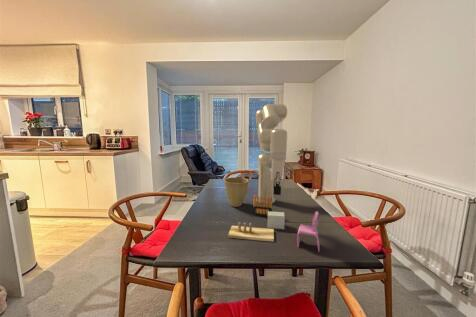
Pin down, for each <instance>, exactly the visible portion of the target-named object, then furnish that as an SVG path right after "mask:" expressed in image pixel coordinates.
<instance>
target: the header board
mask: <svg viewBox="0 0 476 317" xmlns="http://www.w3.org/2000/svg"><path fill="white" fill-rule="evenodd" d="M237 223H238V224H237V225H231V227H230V229H229V232H228V235H227V238H230V239H241V240H251V241H260V242H261V241H263V242H275V233H274V232H275V228H264V227H255V226H254V227H253V223H252V222H249V224H248V225H249V226H247V222H243V226H242V222H241V221H239V222H237Z"/></svg>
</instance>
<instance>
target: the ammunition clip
mask: <svg viewBox="0 0 476 317" xmlns="http://www.w3.org/2000/svg"><path fill="white" fill-rule="evenodd" d="M256 198H257V201H256ZM252 206H253V207H252V215H253V216H258V217H259V216H260V217H261V216H262V217H268V211H270V212H273V203H272V196H270V202H269V196H268V195H267V200H265V195H264V197H263V202H262V194H261V196H260V203H259V194H258V193H257V195H256V194H253V205H252Z"/></svg>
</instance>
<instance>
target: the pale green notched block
mask: <svg viewBox="0 0 476 317" xmlns="http://www.w3.org/2000/svg"><path fill="white" fill-rule="evenodd" d="M285 218H286V217H285V211H284V212H282V211H272V212H270V211H268V216H267V223H266V224H267V225H266V226H267V229H274V230H275V229H278V230H285V220H286V219H285Z"/></svg>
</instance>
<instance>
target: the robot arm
mask: <svg viewBox="0 0 476 317" xmlns="http://www.w3.org/2000/svg"><path fill="white" fill-rule="evenodd" d="M287 116H288V108H287V106H286V105H285V104H284V103H267V104H266V105H265V104H264V106H263V107H262V109H259V110H257V111H256V113H255V122H256V126H257V137H258V142H259V149H260V151H262V152H265V153H261V154H259V155H258V157H257V164H258V165H257V166H258V191H257V192H258V193H257V195H258V194H259V204H260V196H261V194H262V202H263V197H264V195H265V200H267V195H268V196H269V202H270V196H272V204H274V203H276V198H274V195H277V196H281V195H282V193H281V192H282V189H281V188H282V185H281V182H282V181H283V176H284V175H283V174H284V167H285V166H286V160H287V148H288V147H287V146H288V144H287V143H288V131H287V130H286V129H285V128H284V129H282V128H277V127H278V126H279V125H280V123H282V122H283V121H284V120H285V119H287ZM266 152H267V153H266ZM268 152H269V153H268ZM256 202H257V197H256Z"/></svg>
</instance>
